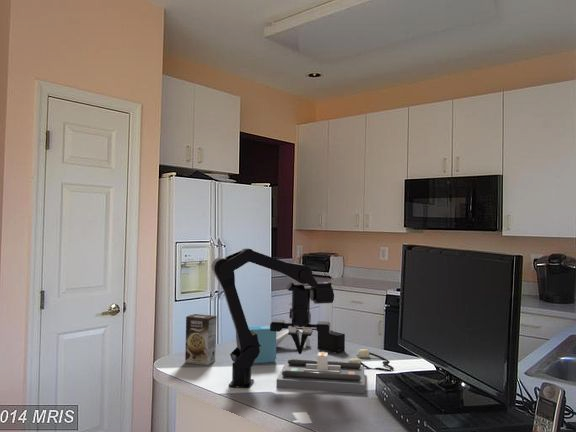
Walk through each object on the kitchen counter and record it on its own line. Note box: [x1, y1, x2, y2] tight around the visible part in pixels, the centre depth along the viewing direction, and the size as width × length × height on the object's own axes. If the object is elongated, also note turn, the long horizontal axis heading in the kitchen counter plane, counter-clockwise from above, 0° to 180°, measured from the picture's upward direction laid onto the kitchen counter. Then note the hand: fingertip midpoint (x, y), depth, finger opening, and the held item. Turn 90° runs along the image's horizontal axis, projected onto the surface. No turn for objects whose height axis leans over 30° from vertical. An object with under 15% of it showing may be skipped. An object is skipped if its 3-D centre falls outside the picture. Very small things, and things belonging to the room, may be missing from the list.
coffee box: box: [184, 313, 217, 366], centre depth 164 cm, size 9×6×16 cm
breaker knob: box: [316, 351, 329, 370], centre depth 146 cm, size 4×3×6 cm
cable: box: [347, 348, 395, 372], centre depth 165 cm, size 16×16×4 cm
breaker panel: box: [276, 358, 366, 394], centre depth 146 cm, size 18×26×4 cm
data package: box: [248, 325, 277, 364], centre depth 165 cm, size 12×4×12 cm, turn 106°
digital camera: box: [317, 329, 346, 355], centre depth 182 cm, size 10×5×7 cm, turn 45°
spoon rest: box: [276, 329, 311, 348], centre depth 185 cm, size 24×12×7 cm, turn 102°
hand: (300, 353), depth 147 cm, fingers closed
